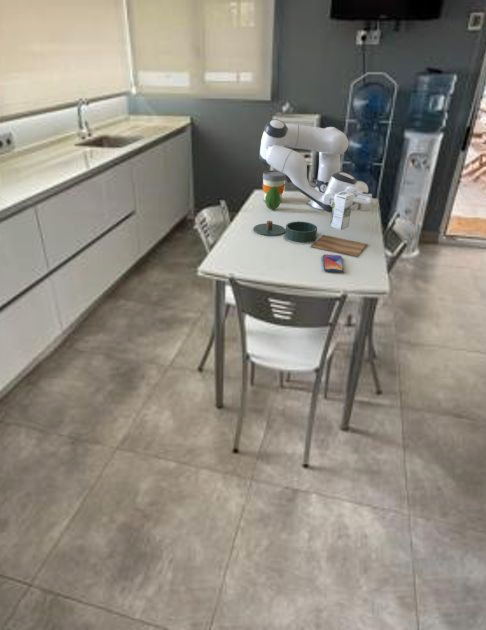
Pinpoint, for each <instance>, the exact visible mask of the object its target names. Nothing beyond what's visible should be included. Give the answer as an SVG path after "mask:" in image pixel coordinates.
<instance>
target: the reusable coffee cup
mask: <svg viewBox="0 0 486 630" xmlns="http://www.w3.org/2000/svg"><path fill="white" fill-rule="evenodd" d="M286 176H287V175H286V174H284V173H282V172H280V171H278V170H276V169H274V170H273V169H272V170H265V171H263V172H262V192H263V199H264V201H265V198H266V195H267V193H268V191H269V189H270V188H271V187H273V186H275V187H276V188H277V189H278V192H279V194H280V202H281V201H282V198H283V197H282V196H283V193H284V190H285V185H286V184H285V182H286V180H287V177H286Z"/></svg>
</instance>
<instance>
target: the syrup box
mask: <svg viewBox="0 0 486 630" xmlns="http://www.w3.org/2000/svg"><path fill="white" fill-rule="evenodd" d="M353 197H354V194H352V193H349V192H345V191H342V192H339V193H336V194H335V196H334V203H333V209H332V213H331V216H330V222H329V227H330V228H333V229H335V230H340V231H342V230H344V229H346V228H348V227H349V225H350V220H351V219H350V218H351V214H352V211H351V210H349V209H350V208H349V207H350V205H352V203H353Z"/></svg>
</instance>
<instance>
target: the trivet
mask: <svg viewBox="0 0 486 630" xmlns="http://www.w3.org/2000/svg"><path fill="white" fill-rule="evenodd" d="M366 246H367V243H365V242H360V241H355V240H350V239H345V238H340V237H335V236H330V235H325V234H322V235H321V236H320V237H319V238H318V239H317V240H315V241H314V242H313V244H312V245H311V248H314V249H318V250H323V251H327V252H332V253H337V254H340V255H346V256H350V257H356V258H358V257H359V255H360V254H361V253H362V252H363V251H364V249H365V247H366Z"/></svg>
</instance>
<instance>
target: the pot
mask: <svg viewBox="0 0 486 630" xmlns="http://www.w3.org/2000/svg"><path fill="white" fill-rule="evenodd" d="M317 232H318V226H317V225H315V224H313V223H311V222H308V221H299V220H298V221H291V222H288V223H287V224H286V225H285V232H284V233H285V235H284V238H285V239H287V240H288V241H290V242H294V243H301V244H302V243H303V244H304V243H315V242H316V241H317V240H316V239H317Z"/></svg>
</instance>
